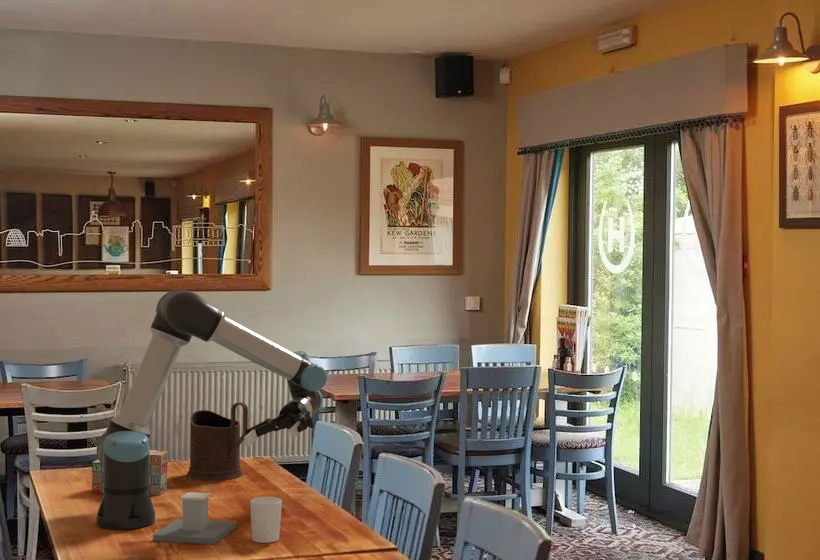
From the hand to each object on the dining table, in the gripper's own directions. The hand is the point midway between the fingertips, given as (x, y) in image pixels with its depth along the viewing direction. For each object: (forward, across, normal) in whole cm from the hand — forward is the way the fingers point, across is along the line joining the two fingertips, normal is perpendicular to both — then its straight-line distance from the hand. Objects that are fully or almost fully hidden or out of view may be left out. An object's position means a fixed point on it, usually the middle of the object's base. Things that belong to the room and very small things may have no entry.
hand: (268, 438), depth 277 cm
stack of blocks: (-17, +57, -14) cm, 61 cm away
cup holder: (-44, +41, -22) cm, 64 cm away
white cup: (+20, -1, -20) cm, 29 cm away
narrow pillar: (+21, +17, -16) cm, 31 cm away
